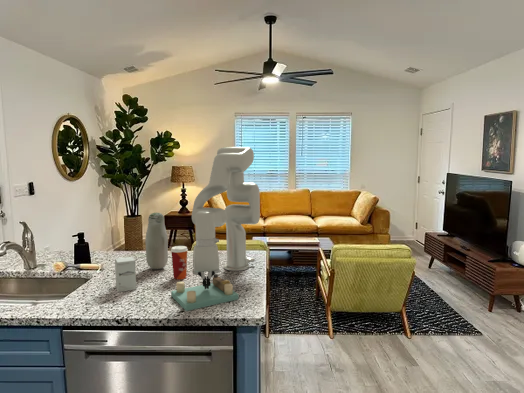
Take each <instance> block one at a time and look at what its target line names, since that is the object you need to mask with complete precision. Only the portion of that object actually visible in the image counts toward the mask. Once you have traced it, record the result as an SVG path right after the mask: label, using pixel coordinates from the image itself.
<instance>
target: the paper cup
mask: <svg viewBox="0 0 524 393" xmlns="http://www.w3.org/2000/svg"><path fill="white" fill-rule="evenodd" d="M188 251H189V249H188V247H187V246H185V245H175V246H173V247H171V249H170V252H171V262H172V271H173V272H172V273H173V279H174V280H184V279H186V278H187V271H188V270H187V268H188Z"/></svg>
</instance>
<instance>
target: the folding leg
mask: <svg viewBox="0 0 524 393" xmlns="http://www.w3.org/2000/svg"><path fill="white" fill-rule="evenodd" d="M225 280H226V279H223V278H222V277H221V276H219V273H216V274H214V275H213V276H212V283H213V285H214V286H216V287H217V288H219V289H220V290H222V291H223V292H224V285H225V284H228V283H229V281H230V280H229V281H225Z"/></svg>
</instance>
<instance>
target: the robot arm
mask: <svg viewBox="0 0 524 393" xmlns="http://www.w3.org/2000/svg"><path fill="white" fill-rule="evenodd" d="M254 158H255V154H254V150H253V149H252V148H251V147H249V146H226V147H224V146H223V147H219V148H218V150H217V153H216V155H215V157H214V158H213V162H212V166H211V172H210V177H209V182H208V184H207V185H206V186H205V187H203V188H202V190H200V192H199V193H198V194H197V196H196V197H195V199H194V202H193V205H192V206H193V207H192V210H191V211H192V212H191V221H192V223H193V224H194V225H195V245H194V246H193V251H192V252H193V253H192V268H193V269H192V275H194V276H195V275H196V276H198V277H200V278H201V279H202V285H203V286H204V287H205V289H209V286H210V284H211V278H213V275H214V274H219V273H221V270H220V257H219V256H220V254H219V248H218V244H217V243H220V239H219V238H216V228H217V227H218V228H220V227H223V226H224V225H225V227H226V234H225V235H226V263H225V264H223V269H224V270H227V271H232V272H241V271H245V270H248V269H249V268H250V263H254V262H255V260H256V259H255V257H247V242H246V241H247V238H246V236H247V232H246V230H245V228H244V226H243V225H257V224H258V223H259V222H260V218H261V211H260V210H261V207H260V206H261V198H260V187H259V186H258V184H256V183H255V182H245V177H244V176H245V175H244V172H246V171H247V170H248V169H249V168H250V166H251V165H252V164H253V162H254ZM225 192H226V197H227V199H228V201H229V202H234V203H237V204H234V203H233V204H229V205H227V206H225V209H223V208H220V207H204V206H205V204H206V202H208V201H209V200H210V199H211V198H214V197H215V196H217V195H220V194H223V193H225ZM239 203H248V204H239ZM205 272H207V275H205Z"/></svg>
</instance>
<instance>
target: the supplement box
mask: <svg viewBox="0 0 524 393" xmlns="http://www.w3.org/2000/svg"><path fill="white" fill-rule="evenodd" d="M114 268H115V272H114V274H115V288H116V290H117V293H121V292H127V291H133V290H134V291H136V290H137V273H136V271H137V270H136V269H137V268H136V259H135V258H134V256H126V257H117V258H116V257H115V258H114Z"/></svg>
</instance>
